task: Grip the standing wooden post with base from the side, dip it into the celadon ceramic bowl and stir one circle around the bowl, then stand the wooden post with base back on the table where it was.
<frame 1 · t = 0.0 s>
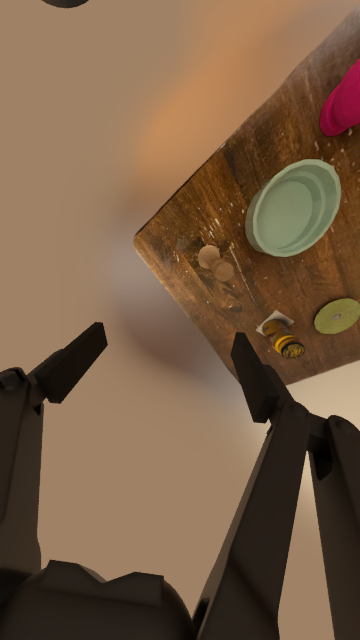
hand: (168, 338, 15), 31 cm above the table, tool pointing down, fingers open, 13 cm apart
olive green flat disc: (330, 314, 45), on the table
condiment: (273, 325, 48), on the table
bowl: (278, 218, 35), on the table
pepper mill: (337, 112, 27), on the table
wooden post with base: (208, 256, 39), on the table
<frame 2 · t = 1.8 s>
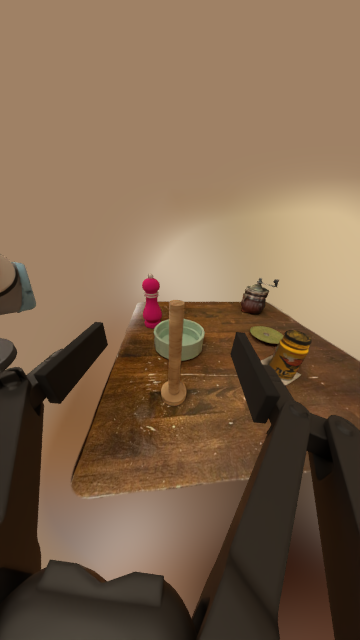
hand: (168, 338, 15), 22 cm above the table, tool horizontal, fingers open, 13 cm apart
olive green flat disc: (265, 338, 55), on the table
condiment: (277, 369, 42), on the table
bowl: (178, 345, 49), on the table
pepper mill: (152, 324, 61), on the table
coffee grinder: (253, 312, 76), on the table
wooden post with base: (173, 393, 34), on the table
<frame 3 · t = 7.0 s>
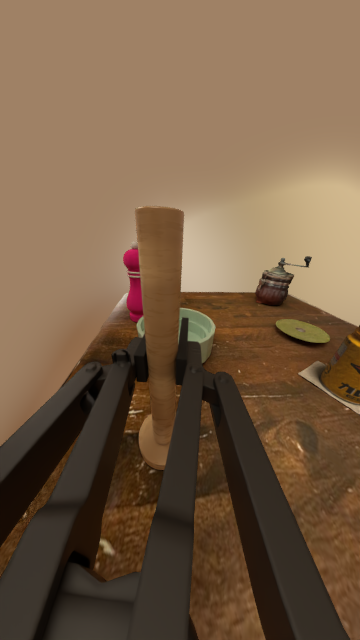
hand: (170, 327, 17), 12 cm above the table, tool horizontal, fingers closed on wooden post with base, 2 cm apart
olive green flat disc: (297, 336, 39), on the table
condiment: (334, 385, 26), on the table
bowl: (175, 346, 33), on the table
pepper mill: (141, 318, 45), on the table
coffee grinder: (272, 304, 60), on the table
wooden post with base: (163, 438, 18), on the table, touching gripper
when the fingers open (12 cm above the table, at t = 22.2 s): wooden post with base stays where it is, on the table.
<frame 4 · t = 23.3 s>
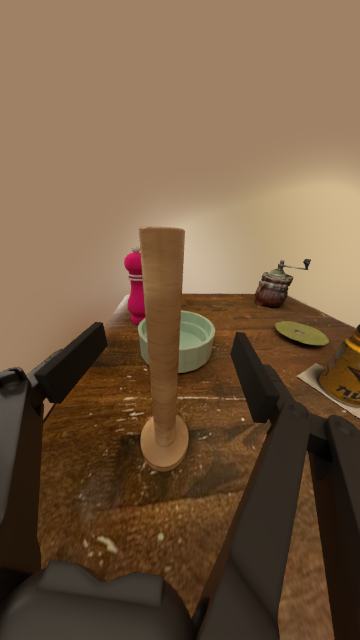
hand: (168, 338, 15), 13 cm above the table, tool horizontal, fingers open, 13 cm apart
olive green flat disc: (296, 338, 40), on the table
condiment: (332, 387, 26), on the table
bowl: (175, 348, 34), on the table
pepper mill: (142, 320, 45), on the table
coffee grinder: (271, 306, 60), on the table
wooden post with base: (165, 440, 18), on the table
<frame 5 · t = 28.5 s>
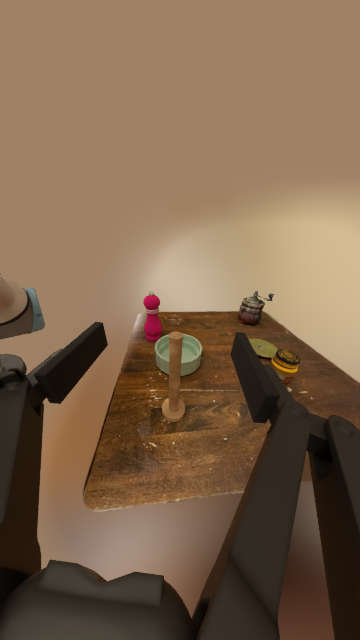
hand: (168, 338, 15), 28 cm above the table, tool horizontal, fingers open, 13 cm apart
olive green flat disc: (260, 351, 58), on the table
condiment: (270, 384, 45), on the table
bowl: (177, 359, 52), on the table
pepper mill: (153, 337, 64), on the table
coffee grinder: (250, 323, 79), on the table
wooden post with base: (173, 410, 37), on the table
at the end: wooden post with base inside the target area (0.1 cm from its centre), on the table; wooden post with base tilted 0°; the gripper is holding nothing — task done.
